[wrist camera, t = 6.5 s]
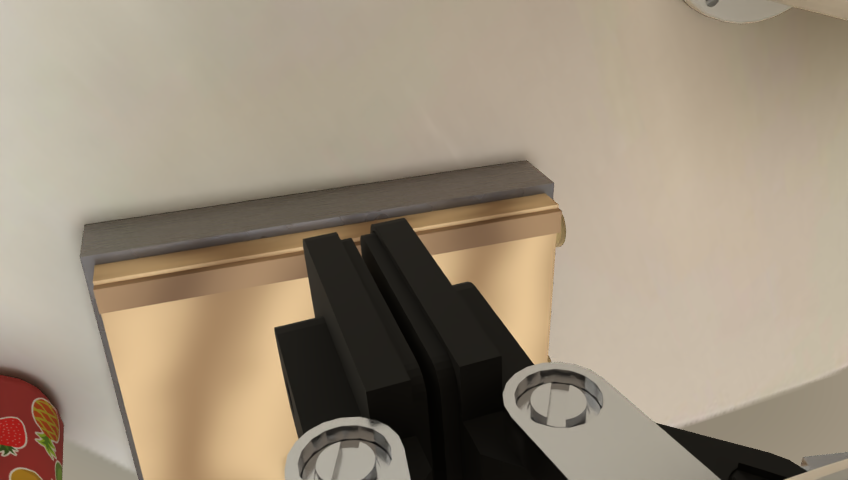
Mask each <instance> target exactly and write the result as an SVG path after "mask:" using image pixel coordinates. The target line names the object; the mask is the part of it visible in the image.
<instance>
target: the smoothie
mask: <svg viewBox="0 0 848 480" xmlns="http://www.w3.org/2000/svg"><path fill="white" fill-rule="evenodd" d="M63 433H64V425H63V422H62V420H61V418H60V415H59V413H58V411H57V409H56V408H55V407H54V406H53V405H52V404H51V403H50V401H49V399H48V398H47V397H46V396H45V395H44V394H43V393H42V392H41V391H40V390H39V389H38V388H37V387H35V386H33V385H31V384H29V383H28V382H26V381H24V380H22V379H18V378H13V377H9V376H4V375H0V480H62V464H63Z"/></svg>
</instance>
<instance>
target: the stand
mask: <svg viewBox="0 0 848 480" xmlns="http://www.w3.org/2000/svg"><path fill="white" fill-rule="evenodd" d="M553 192H554V182H552V181H551V180H550V179H549V178H547V177H546V176H545V175H544V174H543V173H541V172H540V171H539V170H538V169H537V168H535V167H534V166H533V165H532V164H530V163H529V162H528V161H520V162H513V163H507V164H500V165H493V166H486V167H479V168H472V169H465V170H459V171H452V172H445V173H438V174H431V175H424V176H418V177H411V178H404V179H397V180H390V181H383V182H376V183H370V184H363V185H356V186H349V187H342V188H335V189H328V190H322V191H315V192H308V193H301V194H294V195H287V196H280V197H274V198H267V199H260V200H253V201H246V202H239V203H233V204H226V205H219V206H212V207H205V208H198V209H191V210H185V211H178V212H171V213H164V214H157V215H150V216H143V217H137V218H130V219H123V220H116V221H109V222H102V223H95V224H89V225H85V226H84V233H83V239H82V246H81V253H80V259H81V263H82V267H83V271H84V275H85V278H86V282H87V286H88V290H89V294H90V297H91V301H92V305H93V309H94V312H95V316H96V320H97V324H98V328H99V331H100V335H101V339H102V343H103V346H104V350H105V354H106V358H107V362H108V365H109V369H110V373H111V377H112V380H113V384H114V388H115V392H116V396H117V399H118V403H119V407H120V411H121V415H122V418H123V422H124V426H125V430H126V433H127V437H128V441H129V445H130V449H131V452H132V456H133V460H134V464H135V467H136V471H137V475H138V479H139V480H144V479H143V475H142V471H141V467H140V463H139V459H138V455H137V452H136V448H135V444H134V440H133V436H132V432H131V428H130V424H129V420H128V417H127V413H126V409H125V405H124V401H123V397H122V393H121V389H120V385H119V382H118V378H117V374H116V370H115V366H114V362H113V358H112V354H111V351H110V347H109V343H108V339H107V335H106V331H105V327H104V323H103V319H102V316H101V314H99V310H98V307H97V303H96V299H95V295H94V291H93V288H94V284H93V275H94V267H95V265H100V264H106V263H112V262H119V261H125V260H131V259H137V258H144V257H150V256H156V255H162V254H168V253H175V252H181V251H187V250H193V249H200V248H206V247H212V246H218V245H225V244H231V243H237V242H243V241H250V240H256V239H262V238H268V237H275V236H281V235H287V234H293V233H300V232H306V231H312V230H318V229H325V228H331V227H337V226H343V225H350V224H356V223H362V222H368V221H375V220H381V219H387V218H393V217H400V216H406V215H412V214H418V213H425V212H431V211H437V210H443V209H450V208H456V207H462V206H468V205H475V204H481V203H487V202H493V201H500V200H506V199H512V198H518V197H525V196H531V195H537V194H543V193H545V194H547V195H548V196H549V197H550V198H551V199H552V200H553ZM565 237H566V226H565V221H564V217H563V215H562V217H561V231H560V233H556V247H560V246H562V245H563V244H564V241H565ZM548 362H551V360H550V358H549V356H548V361H547V363H548Z"/></svg>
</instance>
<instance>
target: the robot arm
mask: <svg viewBox="0 0 848 480" xmlns="http://www.w3.org/2000/svg"><path fill="white" fill-rule="evenodd" d="M684 1H685V2H686V3H687V4H688V5H689V6H690V7H691V8H693V9H695V10H696V11H698V12H700V13H701V14H703V15H705V16H708V17H711V18H714V19H717V20H720V21H723V22H730V23H738V24H744V23H754V22H760V21H763V20H766V19H769V18H772V17H775V16H778V15H780V14H781V13H783V12H785V11H787V10H789V9H791V8H793V7H795V8H799V9H803V10H807V11H811V12H815V13H819V14H823V15H827V16H831V17H835V18H839V19H843V20H847V21H848V0H684ZM360 245H361V254H362V257H361V255H360V253H359V251H358V249H357V247H356V245H355V243H354V241H353V240H352V238H347V239H343V240H341V239H340V237H339V235H338V233H337V232H333V233H329V234H324V235H319V236H314V237H310V238H305V239H303V249H304V256H305V262H306V268H307V274H308V280H309V285H310V291H311V297H312V303H313V309H314V315H315V318H312V319H308V320H304V321H299V322H295V323H291V324H287V325H283V326H278V327H274V332H275V337H276V343H277V348H278V353H279V357H280V362H281V367H282V372H283V377H284V382H285V386H286V391H287V395H288V399H289V404H290V408H291V412H292V416H293V420H294V424H295V428H296V432H297V435H298V440H297V441H296V442H295V444H294V445H293V447H292V448H291V450H290V452H289V453H288V455H287V460H286V465H285V480H848V452H845V453H836V454H826V455H817V456H809V457H803V459H802V462H801V466H798V465H796V464H795V463H793V462H791V461H790V460H788V459H785V458H782V457H780V456H777V455H774V454H771V453H768V452H765V451H761V450H757V449H753V448H749V447H745V446H742V445H738V444H734V443H730V442H726V441H723V440H719V439H715V438H711V437H707V436H703V435H700V434H696V433H692V432H688V431H685V430H681V429H677V428H673V427H669V426H666V425H662V424H658V423H655V422H654V421H652V420H651V419H650V418H649V417H648V416H647V415H645V414H644V413H643V412H642V411H641V410H640V409H639V408H637V407H636V406H635V405H634V404H633V403H632V402H630V401H629V400H628V399H627V398H626V397H625V396H623V395H622V394H621V393H620V392H619V391H618V390H617V389H615V388H614V387H613V386H612V385H611V384H610V383H608V382H607V381H606V380H605V379H604V378H602V377H601V376H599V375H598V374H596V373H595V372H593V371H592V370H590V369H587V368H584V367H581V366H579V365H576V364H570V363H563V362H548V363H540V364H536V365H534V364H533V362H532V361H531V360H530V358H529V357H528V356H527V354H526V353H525V352H524V350H523V349H522V348H521V346H520V345H519V344H518V342H517V341H516V340H515V338H514V337H513V336H512V334H511V333H510V332H509V330H508V329H507V328H506V326H505V325H504V324H503V322H502V321H501V320H500V318H499V317H498V316H497V314H496V313H495V312H494V310H493V309H492V308H491V306H490V305H489V304H488V302H487V301H486V300H485V298H484V297H483V296H482V294H481V293H480V292H479V290H478V289H477V288H476V286H475V285H474V284H473V283H472V282H468V281H467V282H463V283H459V284H455V285H452V284H451V283H450V281H449V280H448V278H447V277H446V276H445V274H444V273H443V271H442V270H441V268H440V267H439V266H438V264H437V263H436V261H435V260H434V258H433V257H432V256H431V254H430V253H429V251H428V250H427V248H426V247H425V246H424V244H423V243H422V241H421V240H420V238H419V237H418V236H417V234H416V233H415V231H414V230H413V228H412V227H411V226H410V224H409V223H408V221H407V220H406V219H405V218H400V219H395V220H390V221H385V222H381V223H376V224H371V227H370V234H366V235H361V237H360Z"/></svg>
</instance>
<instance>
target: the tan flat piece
mask: <svg viewBox="0 0 848 480" xmlns="http://www.w3.org/2000/svg"><path fill="white" fill-rule="evenodd" d="M561 217H562V211H561V210H560V209H559V208H558V204H557V203H556V202H555V201H554V200H552V199H551V198H550V197H549V196H548V195H547V194H545V193H543V194H537V195H531V196H525V197H518V198H512V199H506V200H500V201H493V202H487V203H481V204H475V205H468V206H462V207H456V208H450V209H443V210H437V211H431V212H425V213H418V214H412V215H406V216H400V217H393V218H387V219H381V220H375V221H368V222H362V223H356V224H350V225H343V226H337V227H331V228H325V229H318V230H312V231H306V232H300V233H293V234H287V235H281V236H275V237H268V238H262V239H256V240H250V241H243V242H237V243H231V244H225V245H218V246H212V247H206V248H200V249H193V250H187V251H181V252H175V253H168V254H162V255H156V256H150V257H144V258H137V259H131V260H125V261H119V262H112V263H106V264H100V265H95V267H94V275H93V284H94V288H93V291H94V295H95V299H96V303H97V307H98V310H99V314H101V316H102V319H103V323H104V327H105V331H106V335H107V339H108V343H109V347H110V351H111V354H112V358H113V362H114V366H115V370H116V374H117V378H118V382H119V385H120V389H121V393H122V397H123V401H124V405H125V409H126V413H127V417H128V420H129V424H130V428H131V432H132V436H133V440H134V444H135V448H136V452H137V455H138V459H139V463H140V467H141V471H142V475H143V479H144V480H285V465H286V460H287V455H288V453H289V452H290V450H291V448H292V447H293V445H294V444H295V442H296V441H297V440H298V435H297V432H296V428H295V424H294V420H293V416H292V412H291V408H290V404H289V399H288V395H287V391H286V386H285V382H284V377H283V372H282V367H281V362H280V357H279V353H278V348H277V343H276V337H275V332H274V327H278V326H283V325H287V324H291V323H295V322H299V321H304V320H308V319H312V318H315V315H314V309H313V303H312V297H311V291H310V285H309V280H308V274H307V268H306V262H305V256H304V249H303V239H305V238H310V237H314V236H319V235H324V234H329V233H333V232H337V233H338V235H339V237H340V239H341V240H343V239H347V238H352V240H353V241H354V243H355V245H356V247H357V249H358V251H359V253H360V255H361V257H362V254H361V245H360V237H361V235H366V234H370V227H371V224H376V223H381V222H385V221H390V220H395V219H400V218H405V219H406V220H407V221H408V223H409V224H410V226H411V227H412V228H413V230H414V231H415V233H416V234H417V236H418V237H419V238H420V240H421V241H422V243H423V244H424V246H425V247H426V248H427V250H428V251H429V253H430V254H431V256H432V257H433V258H434V260H435V261H436V263H437V264H438V266H439V267H440V268H441V270H442V271H443V273H444V274H445V276H446V277H447V278H448V280H449V281H450V283H451V284H452V285H455V284H459V283H463V282H467V281H468V282H472V283H473V284H474V285H475V286H476V288H477V289H478V290H479V292H480V293H481V294H482V296H483V297H484V298H485V300H486V301H487V302H488V304H489V305H490V306H491V308H492V309H493V310H494V312H495V313H496V314H497V316H498V317H499V318H500V320H501V321H502V322H503V324H504V325H505V326H506V328H507V329H508V330H509V332H510V333H511V334H512V336H513V337H514V338H515V340H516V341H517V342H518V344H519V345H520V346H521V348H522V349H523V350H524V352H525V353H526V354H527V356H528V357H529V358H530V360H531V361H532V362H533V364H534V365H536V364H540V363H547V361H548V347H549V333H550V318H551V304H552V290H553V275H554V261H555V247H556V233H560V231H561Z"/></svg>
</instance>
